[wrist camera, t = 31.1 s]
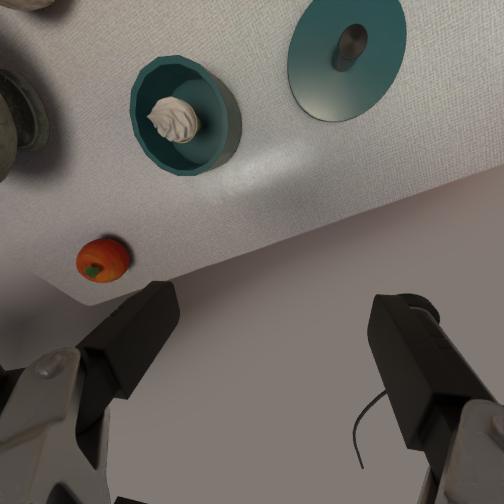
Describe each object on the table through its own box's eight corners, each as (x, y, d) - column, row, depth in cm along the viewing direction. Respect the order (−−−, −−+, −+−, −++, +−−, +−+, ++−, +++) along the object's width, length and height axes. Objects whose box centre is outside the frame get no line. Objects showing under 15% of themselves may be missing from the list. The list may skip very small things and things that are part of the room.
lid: (387, 120, 32) (407, 116, 27) (285, 124, 35) (283, 121, 29) (418, -26, 26) (453, -74, 20) (290, -9, 28) (289, -47, 22)
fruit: (91, 237, 52) (49, 257, 43) (123, 229, 49) (86, 249, 40) (112, 272, 55) (77, 297, 47) (143, 266, 53) (113, 292, 44)
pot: (243, 168, 39) (231, 175, 31) (171, 169, 41) (144, 175, 34) (239, 70, 33) (223, 50, 25) (155, 77, 35) (117, 60, 28)
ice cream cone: (197, 98, 35) (137, 74, 22) (222, 122, 36) (179, 113, 23) (181, 127, 37) (118, 120, 24) (205, 148, 38) (157, 154, 25)
